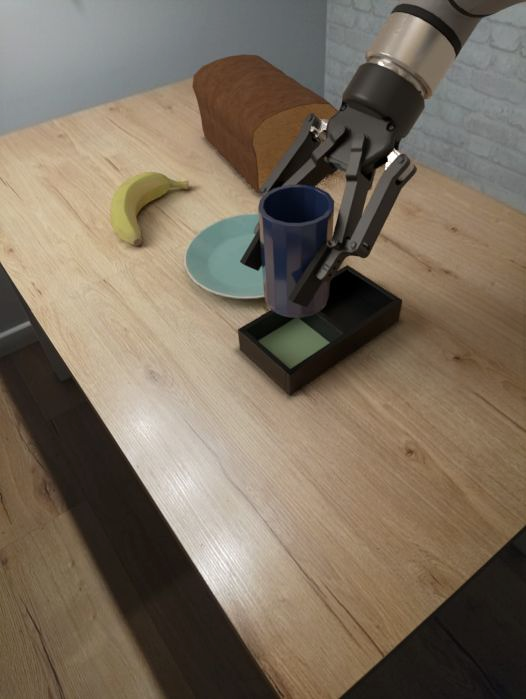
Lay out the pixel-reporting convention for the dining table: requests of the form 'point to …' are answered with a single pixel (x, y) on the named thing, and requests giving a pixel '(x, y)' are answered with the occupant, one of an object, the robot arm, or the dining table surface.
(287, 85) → the bread
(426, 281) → the dining table surface
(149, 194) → the banana
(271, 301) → the cup
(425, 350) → the dining table surface
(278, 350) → the tray
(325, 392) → the dining table surface
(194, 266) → the plate
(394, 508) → the dining table surface
